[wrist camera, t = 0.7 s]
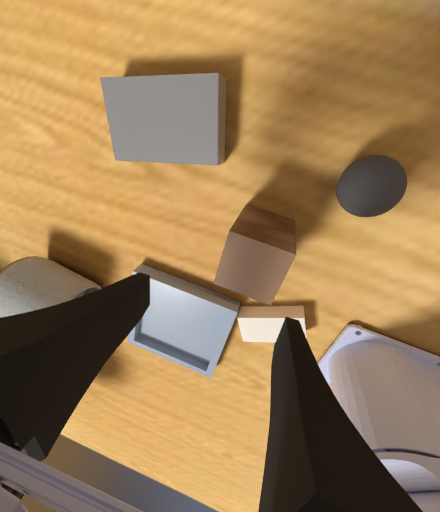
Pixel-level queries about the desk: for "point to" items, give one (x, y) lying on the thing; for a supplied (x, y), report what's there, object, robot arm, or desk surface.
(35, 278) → the ceramic mug
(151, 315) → the tray
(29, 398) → the robot arm
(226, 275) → the walnut block
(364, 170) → the rubber ball
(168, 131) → the grey box
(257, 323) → the bar
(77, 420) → the desk surface
